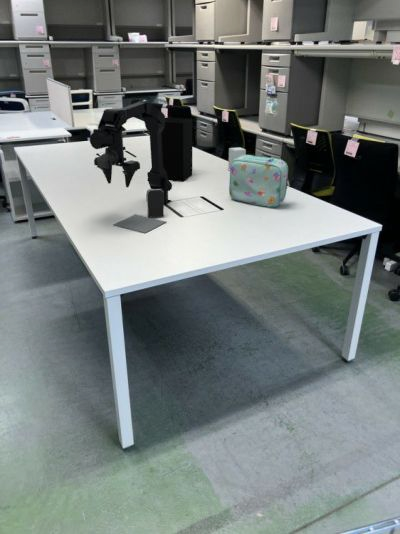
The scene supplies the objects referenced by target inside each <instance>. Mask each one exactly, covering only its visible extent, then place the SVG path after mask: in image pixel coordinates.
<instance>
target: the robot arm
mask: <svg viewBox="0 0 400 534" xmlns="http://www.w3.org/2000/svg"><path fill="white" fill-rule="evenodd" d="M102 112H103V113H102V116H101V117H100V121H99V123H98V126H97V128H94V129H92V132H93V133H91V135H90V137H89V143H90V145H91V147H92V148H93V149H95V150H99V149H104V148H105V149H104V150H105V151H104V153H103V154H101V155H100V156H95V158H94V160H93V164H94V166H96V168H98V169H100V170H101V171H102V173H103V175H104V177H105V179H106V181H107V184H108V185H109V184H110V185H111V184H112V175H113V174H112V173H113V166H116V167H121V168H122V171H121V173H123V175H124V181H125V188H129V187H130V184H131V182H132V180H133V177H134V175H135V173H136V172H137V171H138V170H140V169H141V163H140V162H139V161H138V160H133V159H132V160H131V159H130V160H128V161H127V158H126V157H125V154H124V153H125V152H124V151H125V150H126V146H124V141H123V140H124V139H123V132H126V131H127V129H126V128H125V127H124V126H123V125H125V124H126V123H127V122H128V120H130V119H132V118H134V117H136V116H139V115H140V117H141V119H142V120H143V121H144V127H145V129H146V130H147V132H148V133H149V147H150V161H151V163H150V165H151V168H150V170H149V171H147V173H146V174H147V180H146V181H147V182H148V184H149V185H148V186H149V188H150V189H161V190H163V192H164V205H167V204H169V203H171V202H172V201H171V199H169V192H170V191H171V190H172V189H173V184H172V181H169V180H168V177H167V172H166V171H165V169H164V167H163V155H162V136H161V133H162V131H163V129H164V127H165V118H166V116H165V115H166V114H164V112H162V111H161V110H160V109H159V108H157V107H156V106H154V105H153V104H152V103H151V102H150V101H149V100H148V101H145V100H138V101H137V102H135V103H133V104H130V105H127V106H123V107H121V108H106V109H104V110H103V111H102Z"/></svg>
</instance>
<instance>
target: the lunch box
mask: <svg viewBox="0 0 400 534" xmlns="http://www.w3.org/2000/svg"><path fill="white" fill-rule="evenodd" d="M288 175H289V166H288V164H287V162H286V161H284V160H283V159H280V158H275V157H263V156H258V155H257V156H256V155H252V154H246V155H242V156H240V157H239V158H237V159H235V160H233V161H232V162H231V166H230V170H229V182H228V183H229V186H228V190H229V191H228V192H229V196H230V198H231V199H232V200H234V201H237V202H243V203H248V204H251V205H253V204H254V205H253V206H263V207H266V206H267V208H276V207H279V206H280V204H281V203H283V202H284V200H285V199H286V195H287V191H288V190H287V189H288V187H290V182H289V178H288Z"/></svg>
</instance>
